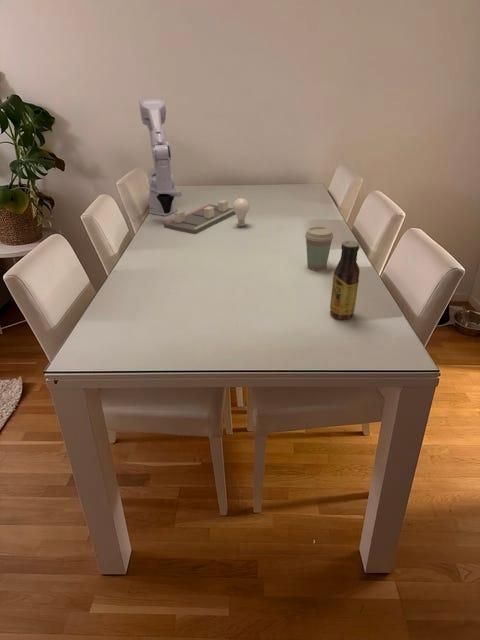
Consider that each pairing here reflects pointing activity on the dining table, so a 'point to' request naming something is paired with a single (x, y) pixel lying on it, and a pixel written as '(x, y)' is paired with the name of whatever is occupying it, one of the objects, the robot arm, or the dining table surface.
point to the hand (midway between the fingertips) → (167, 212)
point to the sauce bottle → (345, 282)
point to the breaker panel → (199, 220)
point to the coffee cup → (318, 247)
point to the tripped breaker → (179, 216)
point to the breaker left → (223, 206)
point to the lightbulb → (241, 210)
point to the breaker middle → (209, 212)
